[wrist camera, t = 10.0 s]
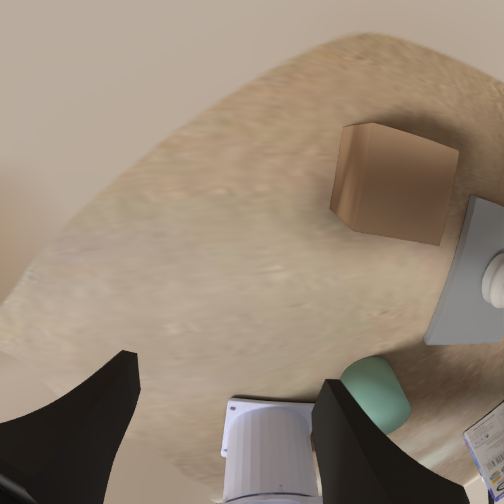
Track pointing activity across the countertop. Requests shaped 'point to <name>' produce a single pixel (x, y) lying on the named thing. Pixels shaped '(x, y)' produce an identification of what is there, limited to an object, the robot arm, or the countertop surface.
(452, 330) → the slate plate
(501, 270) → the rook chess piece
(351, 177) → the walnut block
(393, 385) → the green cylinder
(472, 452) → the ink cartridge box
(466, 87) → the countertop surface
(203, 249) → the countertop surface
